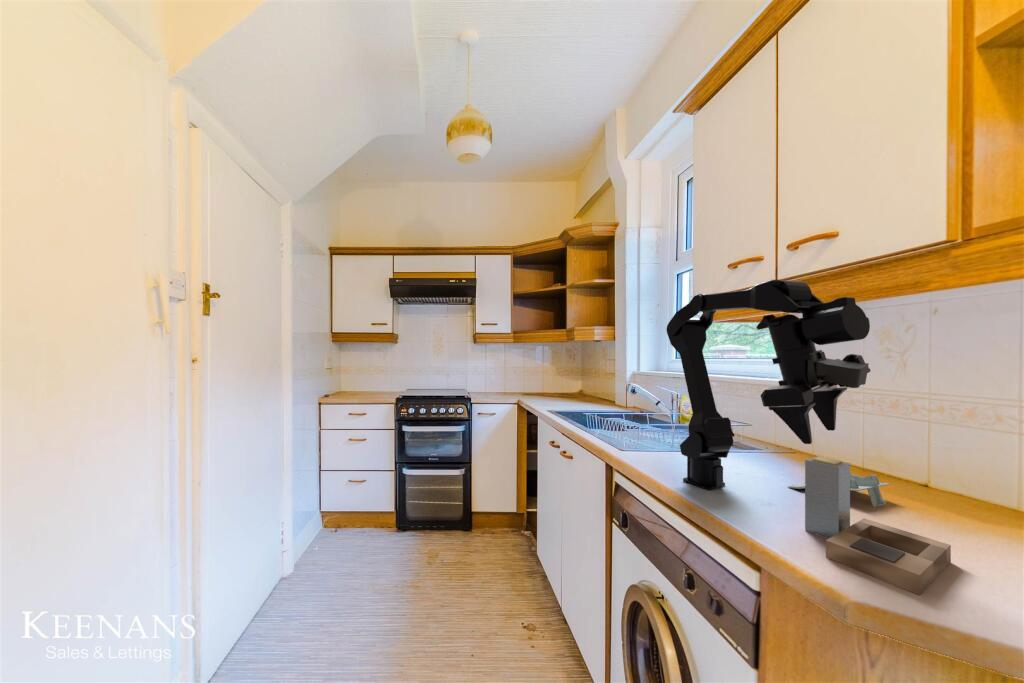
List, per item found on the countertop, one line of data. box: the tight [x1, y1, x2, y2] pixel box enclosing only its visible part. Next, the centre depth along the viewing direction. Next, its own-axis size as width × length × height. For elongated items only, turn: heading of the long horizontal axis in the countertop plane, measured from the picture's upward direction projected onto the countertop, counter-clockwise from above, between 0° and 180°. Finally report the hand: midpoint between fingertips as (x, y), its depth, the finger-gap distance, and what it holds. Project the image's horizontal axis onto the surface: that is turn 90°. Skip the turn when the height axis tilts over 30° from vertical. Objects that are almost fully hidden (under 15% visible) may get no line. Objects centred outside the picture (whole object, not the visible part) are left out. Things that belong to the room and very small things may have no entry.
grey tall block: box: [804, 455, 851, 539], centre depth 61 cm, size 4×4×12 cm
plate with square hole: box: [825, 518, 952, 596], centre depth 54 cm, size 10×15×3 cm, turn 120°
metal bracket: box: [787, 473, 890, 508], centre depth 79 cm, size 14×6×15 cm
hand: (820, 436), depth 63 cm, fingers open, 9 cm apart
